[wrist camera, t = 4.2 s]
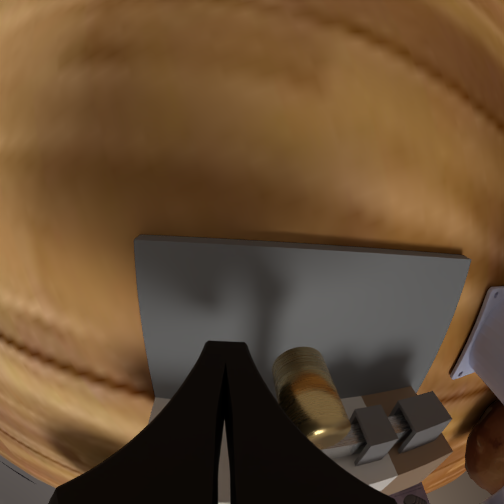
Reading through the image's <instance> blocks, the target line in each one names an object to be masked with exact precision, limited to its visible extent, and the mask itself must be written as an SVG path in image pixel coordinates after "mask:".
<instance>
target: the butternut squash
mask: <svg viewBox="0 0 504 504" xmlns="http://www.w3.org/2000/svg"><path fill="white" fill-rule="evenodd" d="M465 468H466V470H467V472H468V474H469V476H470V478H471V479H473V480H474V481H475V483H476V484H477V485H479V486H480V487H481V488H483V489H485V490H487V491H488V492H489V493H490V494H491V495H493V494H495V493H496V492H497V491H498V490H500V489H501V488H502V487H503V486H504V405H503V403H502V402H501V401H500V400H499V399H498V400H497V401H495V402H494V403H493V404H491V405H490V406H489V407H488V408H487V409H486V411H485V413H484V414H483V415H482V416H481V418H480V420H479V422H478V423H477V424H476V425H475V426H474V428H473V429H472V430H471V432H470V434H469V436H468V439H467V445H466V453H465Z"/></svg>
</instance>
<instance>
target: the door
mask: <svg viewBox="0 0 504 504" xmlns="http://www.w3.org/2000/svg"><path fill="white" fill-rule="evenodd" d="M134 252H135V267H136V279H137V290H138V299H139V307H140V315H141V323H142V330H143V336H144V342H145V348H146V354H147V360H148V365H149V370H150V375H151V380H152V384H153V389H154V393H155V400H154V404H153V408H152V411H151V415H150V419H149V423H150V422H151V421H152V420H153V419H154V418H155V417H156V416H157V415H158V414H159V413H160V412H161V410H162V409H163V408H164V407H165V406H166V405H167V403H168V402H169V401H170V400H171V398H172V397H173V396H174V394H175V393H176V392H177V390H178V389H179V388H180V386H181V385H182V384H183V382H184V381H185V379H186V378H187V376H188V375H189V373H190V371H191V370H192V368H193V367H194V365H195V363H196V361H197V360H198V358H199V356H200V354H201V352H202V350H203V348H204V345H205V343H206V342H207V341H209V340H211V341H230V342H245V343H246V344H247V345H248V349H249V351H250V354H251V357H252V359H253V361H254V363H255V365H256V367H257V369H258V371H259V373H260V375H261V377H262V378H263V380H264V382H265V383H266V385H267V387H268V388H269V390H270V392H271V393H272V395H273V396H274V398H275V399H276V401H277V397H276V391H275V385H274V380H273V374H272V366H273V363H274V361H275V360H276V359H277V357H278V356H280V355H281V354H282V353H284V352H285V351H287V350H289V349H292V348H296V347H311V348H314V349H316V350H318V351H319V352H320V353H321V354H322V356H323V358H324V361H325V363H326V365H327V368H328V370H329V373H330V375H331V377H332V380H333V382H334V384H335V387H336V389H337V392H338V394H339V397H340V399H341V401H342V404H343V406H344V409H345V411H346V414H347V416H348V419H349V421H350V424H351V425H352V424H358V423H359V425H360V428H361V430H362V432H363V435H364V437H365V439H366V442H367V445H366V446H365V448H364V449H363V450H362V452H361V453H359V454H355V455H350V456H345V457H340V458H334V459H332V460H333V461H334V462H336V463H337V464H338V465H339V466H340V467H342V468H343V469H345V470H346V471H347V472H349V473H350V474H352V475H353V476H355V477H356V478H358V479H359V480H361V481H362V482H364V483H366V484H367V485H369V486H371V487H373V488H374V489H376V490H378V491H380V492H382V493H384V494H386V495H391V494H394V493H396V492H399V491H402V490H404V489H407V488H409V487H411V486H414V485H416V484H418V483H420V482H421V481H423V480H424V479H425V478H426V477H427V476H428V475H429V474H430V473H431V472H433V471H434V470H435V469H436V468H437V467H438V466H439V465H440V464H441V463H442V462H443V461H444V460H445V459H446V458H447V457H448V456H449V455H450V454H451V453H452V452H453V451H452V449H451V447H450V446H449V444H448V442H447V441H446V439H445V437H444V436H443V434H442V433H441V432H442V431H443V430H444V429H445V427H446V426H447V425H448V424H449V422H450V421H451V420H452V418H451V416H450V415H449V413H448V412H447V410H446V409H445V408H444V406H443V405H442V403H441V402H440V400H439V399H438V398H437V396H436V395H435V394H434V392H433V391H431V392H428V393H424V394H421V395H417V394H416V393H417V391H418V389H419V387H420V385H421V384H422V382H423V380H424V378H425V376H426V374H427V373H428V371H429V369H430V367H431V365H432V363H433V361H434V359H435V357H436V355H437V353H438V350H439V348H440V346H441V344H442V342H443V339H444V337H445V335H446V332H447V330H448V328H449V325H450V323H451V320H452V318H453V315H454V312H455V310H456V307H457V304H458V301H459V299H460V296H461V293H462V290H463V286H464V283H465V280H466V277H467V273H468V270H469V266H470V263H471V259H469V258H467V257H466V256H464V255H457V254H445V253H432V252H420V251H407V250H393V249H380V248H366V247H351V246H337V245H322V244H306V243H290V242H273V241H256V240H238V239H220V238H201V237H181V236H160V235H139V236H138V237H137V238H135V239H134ZM401 413H403V415H404V417H405V418H406V420H407V422H408V424H409V425H410V427H411V429H412V432H411V434H410V435H409V436H408V437H407V439H406V440H405V441H403V442H400V443H397V444H395V443H396V442H397V440H398V439H399V438H398V436H397V434H396V432H395V430H394V428H393V426H392V425H391V423H390V421H389V419H388V417H390V416H394V415H398V414H401ZM149 423H148V424H149ZM218 504H230V469H229V458H228V449H227V440H226V430H225V419H224V427H223V435H222V443H221V452H220V460H219V471H218Z"/></svg>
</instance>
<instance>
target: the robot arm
mask: <svg viewBox="0 0 504 504" xmlns="http://www.w3.org/2000/svg"><path fill="white" fill-rule="evenodd" d="M473 372H476V374H477V375H478V376H479V377H480V378H481V379H482V380H483V381H484V382H485V384H486V385H487V386H488V387H489V388H490V389H491V390H492V392H493V393H494V394H495V395H496V396H497V398H498V399H499V400H500V401H501V402H502V403H503V405H504V286H496V287H491V288H489V290H488V291H487V294H486V297H485V299H484V302H483V305H482V308H481V310H480V313H479V315H478V318H477V320H476V323H475V325H474V327H473V330H472V332H471V334H470V337H469V339H468V341H467V343H466V345H465V347H464V349H463V351H462V353H461V355H460V357H459V359H458V361H457V363H456V365H455V367H454V369H453V371H452V372H451V375H450V377H451V378H452V379H453V380H454V379H457V378H460V377H463V376H465V375H468V374H471V373H473ZM224 419H225V430H226V440H227V449H228V458H229V469H230V504H397V502H396V500H395V499H394V498H392V497H390V496H388V495H386V494H384V493H382V492H380V491H378V490H376V489H374V488H373V487H371V486H369V485H367V484H366V483H364V482H362V481H361V480H359V479H358V478H356V477H355V476H353V475H352V474H350V473H349V472H347V471H346V470H345V469H343V468H342V467H340V466H339V465H338V464H337V463H336V462H334V461H333V460H332V459H331V458H329V457H328V456H327V455H326V454H325V453H323V452H322V451H321V450H320V449H319V448H318V447H316V446H315V445H314V444H313V443H312V442H311V441H310V440H309V439H308V438H307V437H306V436H305V435H304V434H303V433H302V432H301V430H300V429H299V428H298V427H297V426H296V425H295V424H294V423H293V421H292V420H291V419H290V418H289V417H288V415H287V414H286V413H285V411H284V410H283V409H282V407H281V406H280V405H279V403H278V402H277V401H276V399H275V398H274V396H273V395H272V393H271V392H270V390H269V388H268V387H267V385H266V383H265V382H264V380H263V378H262V377H261V375H260V373H259V371H258V369H257V367H256V365H255V363H254V361H253V359H252V357H251V354H250V351H249V349H248V345H247V344H246V343H245V342H230V341H211V340H209V341H207V342H206V343H205V345H204V348H203V350H202V352H201V354H200V356H199V358H198V360H197V361H196V363H195V365H194V367H193V368H192V370H191V371H190V373H189V375H188V376H187V378H186V379H185V381H184V382H183V384H182V385H181V386H180V388H179V389H178V390H177V392H176V393H175V394H174V396H173V397H172V398H171V400H170V401H169V402H168V403H167V405H166V406H165V407H164V408H163V409H162V410H161V412H160V413H159V414H158V415H157V416H156V417H155V418H154V419H153V420H152V421H151V422H150V423H149V424H148V425H147V426H146V427H145V428H144V429H143V430H142V431H141V432H140V433H139V434H138V435H137V436H135V437H134V438H133V439H132V440H131V441H130V442H129V443H127V444H126V445H125V446H124V447H123V448H121V449H120V450H119V451H117V452H116V453H114V454H113V455H112V456H110V457H109V458H107V459H106V460H105V461H103V462H102V463H100V464H99V465H97V466H96V467H94V468H93V469H91V470H89V471H87V472H86V473H84V474H82V475H80V476H78V477H76V478H74V479H72V480H70V481H68V482H66V483H64V484H62V485H60V486H58V487H57V488H56V490H55V492H54V494H53V495H52V497H51V499H50V501H49V503H48V504H218V471H219V460H220V452H221V443H222V435H223V427H224ZM481 504H504V486H503V487H502V488H501V489H500V490H498V491H497V492H496V493H495V494H493V495H491V496H490V497H489V498H488V499H486V500H485V501H483V502H482V503H481Z"/></svg>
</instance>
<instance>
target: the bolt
mask: <svg viewBox="0 0 504 504" xmlns="http://www.w3.org/2000/svg"><path fill="white" fill-rule="evenodd" d="M272 374H273V380H274V385H275V391H276V397H277V402H278V403H279V405H280V406H281V407H282V409H283V410H284V411H285V413H286V414H287V415H288V417H289V418H290V419H291V420H292V421H293V423H294V424H295V425H296V426H297V427H298V428H299V429H300V430H301V432H302V433H303V434H304V435H305V436H306V437H307V438H308V439H309V440H310V441H311V442H312V443H313V444H314V445H315V446H316V447H318V448H319V449H320V450H321V451H322V452H323V453H325V454H326V455H327V456H328V457H329V458H331V459H334V458H340V457H345V456H350V455H355V454H359V453H361V452H362V450H363V449H364V448H365V446H366V445H367V442H366V439H365V437H364V435H363V432H362V430H361V428H360V425H359V423H358V424H352V425H351V424H350V421H349V419H348V416H347V414H346V411H345V409H344V406H343V404H342V401H341V399H340V397H339V394H338V392H337V389H336V387H335V384H334V382H333V380H332V377H331V375H330V373H329V370H328V368H327V365H326V363H325V361H324V358H323V356H322V354H321V353H320V352H319V351H318V350H316V349H314V348H311V347H296V348H292V349H289V350H287V351H285V352H284V353H282V354H281V355H280V356H278V357H277V359H276V360H275V361H274V363H273V366H272ZM388 419H389V421H390V423H391V425H392V426H393V428H394V430H395V432H396V434H397V436H398V438H399V439H398V440H397V442H396V443H395V444H397V443H400V442H403V441H405V440H406V439H407V437H408V436H409V435H410V434H411V432H412V429H411V427H410V425H409V424H408V422H407V420H406V418H405V417H404V415H403V413H401V414H398V415H394V416H390V417H388Z"/></svg>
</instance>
